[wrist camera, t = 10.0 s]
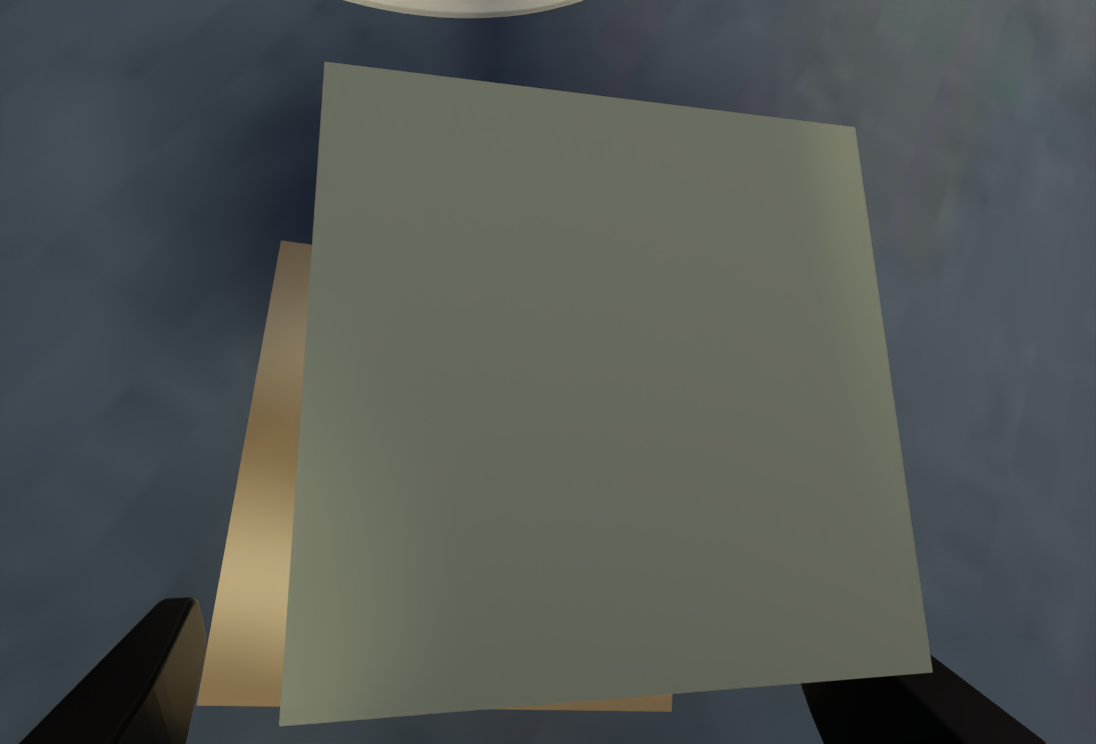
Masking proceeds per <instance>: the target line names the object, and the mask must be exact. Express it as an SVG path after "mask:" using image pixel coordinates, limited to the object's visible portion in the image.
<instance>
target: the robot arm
mask: <svg viewBox="0 0 1096 744" xmlns="http://www.w3.org/2000/svg"><path fill="white" fill-rule="evenodd" d="M205 650H206V633H205V629H204V624H203V620H202V615H201V611H200V606H199V603H198V601H197V600H196V599H195V598H191V597H188V598H168V599H164V600H162V601H160V602H159V603H158V604H157V605H156V606H155V607H154V608H153V609H152V610H151V611H150V612H149V613H148V614H147V615H146V616H145V617H144V618H143V619H142V620H141V621H140V622H139V623H138V624H137V625H136V626H135V627H134V628H133V629H132V630H131V631H130V632H129V633H128V634H127V635H126V636H125V637H124V638H123V639H122V640H121V641H120V642H119V643H118V644H117V645H116V646H115V647H114V648H113V649H112V650H111V651H110V652H109V653H108V654H107V655H106V656H105V657H104V658H103V659H102V660H101V661H100V662H99V663H98V664H97V665H96V666H95V667H94V668H93V669H92V670H91V671H90V672H89V673H88V674H87V675H86V676H85V677H84V678H83V679H82V680H81V681H80V682H79V683H78V684H77V685H76V686H75V687H74V688H73V689H72V690H71V691H70V692H69V693H68V694H67V696H66V697H65V698H64V699H63V700H62V701H61V702H60V703H59V704H58V705H57V706H56V707H55V708H54V709H53V710H52V711H51V712H50V713H49V714H48V715H47V716H46V717H45V718H44V719H43V720H42V721H41V722H40V723H39V724H38V725H37V726H36V727H35V728H34V729H33V730H32V731H31V732H30V733H29V734H28V735H27V736H26V737H25V738H24V739H23V740H22V741H21V742H20V743H19V744H186V740H187V735H188V730H189V726H190V721H191V716H192V712H193V707H194V702H195V698H196V693H197V688H198V684H199V679H200V674H201V670H202V665H203V660H204V656H205ZM930 657H931V664H932V671H933V672H931V673H919V674H907V675H895V676H883V677H871V678H859V679H847V680H835V681H822V682H810V683H801V686H802V689H803V692H804V695H805V698H806V701H807V704H808V706H809V709H810V712H811V714H812V717H813V719H814V722H815V724H816V727H817V729H818V731H819V734H820V736H821V738H822V740H823V743H824V744H1046V743H1045V741H1043V740H1042V739H1041V738H1039V737H1038V736H1037V735H1036V734H1034V733H1033V732H1032V731H1030V730H1029V729H1028V728H1026V727H1025V726H1024V725H1022V724H1021V723H1020V722H1018V721H1017V720H1016V719H1015V718H1013V717H1012V716H1011V715H1009V714H1008V713H1007V712H1005V711H1004V710H1003V709H1001V708H1000V707H999V706H997V705H996V704H995V703H993V702H992V701H991V700H990V699H988V698H987V697H986V696H984V695H983V694H982V693H980V692H979V691H978V690H976V689H975V688H974V687H972V686H971V685H970V684H969V683H967V682H966V681H965V680H963V679H962V678H961V677H959V676H958V675H957V674H955V673H954V672H953V671H951V670H950V669H949V668H948V667H946V666H945V665H944V664H942V663H941V662H940V661H938V660H937V659H936V658H934V657H933V656H932V655H930Z"/></svg>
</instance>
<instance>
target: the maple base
mask: <svg viewBox="0 0 1096 744" xmlns="http://www.w3.org/2000/svg"><path fill="white" fill-rule="evenodd" d="M311 253H312V245H309V244H303V243H296V242H289V241H282V240H281V244H280V249H279V255H278V260H277V266H276V271H275V277H274V282H273V288H272V293H271V299H270V304H269V310H268V315H267V321H266V326H265V332H264V337H263V343H262V348H261V354H260V359H259V365H258V370H257V376H256V381H255V387H254V392H253V398H252V403H251V409H250V414H249V420H248V425H247V431H246V436H245V442H244V448H243V453H242V459H241V464H240V470H239V475H238V481H237V486H236V492H235V497H234V503H233V508H232V514H231V519H230V525H229V530H228V536H227V541H226V547H225V552H224V558H223V563H222V569H221V574H220V580H219V585H218V591H217V596H216V602H215V607H214V613H213V618H212V624H211V629H210V635H209V640H208V646H207V651H206V657H205V662H204V668H203V673H202V679H201V684H200V690H199V695H198V701H197V705H203V706H280V707H281V692H282V677H283V663H284V648H285V633H286V619H287V604H288V590H289V575H290V560H291V546H292V531H293V517H294V502H295V487H296V473H297V458H298V443H299V429H300V414H301V400H302V385H303V370H304V356H305V341H306V327H307V312H308V297H309V283H310V268H311ZM496 709H514V710H592V711H670V712H672V694H665V695H653V696H641V697H629V698H617V699H605V700H593V701H580V702H568V703H556V704H544V705H532V706H520V707H508V708H496Z"/></svg>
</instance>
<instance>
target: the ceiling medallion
mask: <svg viewBox="0 0 1096 744" xmlns="http://www.w3.org/2000/svg"><path fill="white" fill-rule="evenodd" d="M345 1H348V2H352V3H356V4H360V5H364V6H369V7H373V8H378V9H383V10H388V11H394V12H399V13H406V14H414V15H421V16H432V17H446V18H494V17H507V16H516V15H524V14H530V13H537V12H542V11H547V10H551V9H555V8H559V7H563V6H567V5H570V4H574V3H577V2H580V1H583V0H345Z"/></svg>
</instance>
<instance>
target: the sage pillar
mask: <svg viewBox="0 0 1096 744" xmlns="http://www.w3.org/2000/svg"><path fill="white" fill-rule="evenodd" d="M931 672H933V671H932V664H931V657H930V650H929V643H928V636H927V629H926V622H925V615H924V608H923V601H922V594H921V587H920V580H919V573H918V565H917V559H916V551H915V544H914V537H913V530H912V523H911V516H910V509H909V502H908V495H907V488H906V481H905V474H904V467H903V460H902V453H901V446H900V439H899V432H898V425H897V418H896V411H895V404H894V397H893V390H892V383H891V376H890V369H889V362H888V355H887V348H886V341H885V334H884V327H883V320H882V313H881V306H880V299H879V292H878V285H877V278H876V271H875V264H874V257H873V250H872V243H871V236H870V229H869V222H868V215H867V208H866V201H865V194H864V187H863V180H862V173H861V166H860V159H859V152H858V145H857V138H856V131H855V127H848V126H840V125H832V124H824V123H816V122H808V121H800V120H791V119H783V118H775V117H767V116H759V115H751V114H743V113H735V112H727V111H719V110H711V109H703V108H695V107H687V106H678V105H670V104H662V103H654V102H646V101H638V100H630V99H622V98H614V97H606V96H598V95H590V94H582V93H574V92H565V91H557V90H549V89H541V88H533V87H525V86H517V85H509V84H501V83H493V82H485V81H477V80H469V79H461V78H452V77H444V76H436V75H428V74H420V73H412V72H404V71H396V70H388V69H380V68H372V67H364V66H356V65H348V64H339V63H331V62H325V63H324V78H323V93H322V107H321V122H320V137H319V151H318V166H317V180H316V195H315V210H314V224H313V239H312V253H311V268H310V283H309V297H308V312H307V327H306V341H305V356H304V370H303V385H302V400H301V414H300V429H299V443H298V458H297V473H296V487H295V502H294V517H293V531H292V546H291V560H290V575H289V590H288V604H287V619H286V633H285V648H284V663H283V677H282V692H281V707H280V721H279V726H290V725H302V724H314V723H326V722H339V721H351V720H363V719H375V718H387V717H399V716H411V715H423V714H435V713H447V712H459V711H472V710H484V709H496V708H508V707H520V706H532V705H544V704H556V703H568V702H580V701H593V700H605V699H617V698H629V697H641V696H653V695H665V694H677V693H689V692H701V691H714V690H726V689H738V688H750V687H762V686H774V685H786V684H798V683H810V682H822V681H835V680H847V679H859V678H871V677H883V676H895V675H907V674H919V673H931Z"/></svg>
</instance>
